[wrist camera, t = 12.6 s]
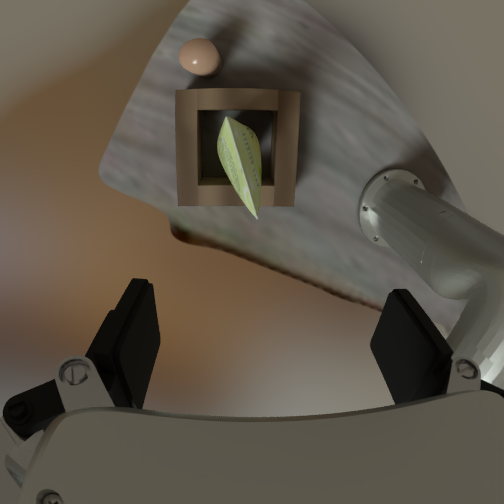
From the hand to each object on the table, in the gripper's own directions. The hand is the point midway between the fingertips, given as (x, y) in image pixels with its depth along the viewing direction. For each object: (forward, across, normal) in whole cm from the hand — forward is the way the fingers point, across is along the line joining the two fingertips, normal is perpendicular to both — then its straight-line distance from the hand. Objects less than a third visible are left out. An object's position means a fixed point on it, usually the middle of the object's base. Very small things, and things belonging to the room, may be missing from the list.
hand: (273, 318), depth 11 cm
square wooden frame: (+30, +2, -4) cm, 30 cm away
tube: (+30, +2, -4) cm, 30 cm away
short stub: (+30, +7, -14) cm, 34 cm away
